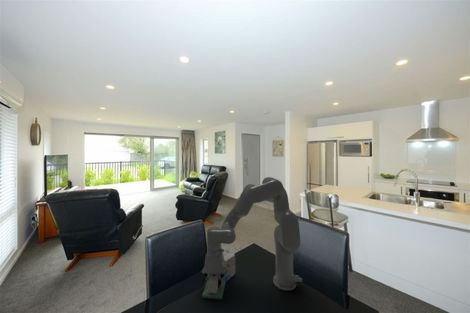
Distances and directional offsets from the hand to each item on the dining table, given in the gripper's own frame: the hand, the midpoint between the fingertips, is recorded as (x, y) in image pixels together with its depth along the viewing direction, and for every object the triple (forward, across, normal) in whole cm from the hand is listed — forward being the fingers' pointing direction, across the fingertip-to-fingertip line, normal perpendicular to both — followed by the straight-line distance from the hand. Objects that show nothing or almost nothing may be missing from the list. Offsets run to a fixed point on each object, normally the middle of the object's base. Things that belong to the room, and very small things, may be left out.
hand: (214, 285), depth 91 cm
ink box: (+3, -4, -12) cm, 13 cm away
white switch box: (+1, 0, 0) cm, 1 cm away
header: (+2, 0, 0) cm, 2 cm away
